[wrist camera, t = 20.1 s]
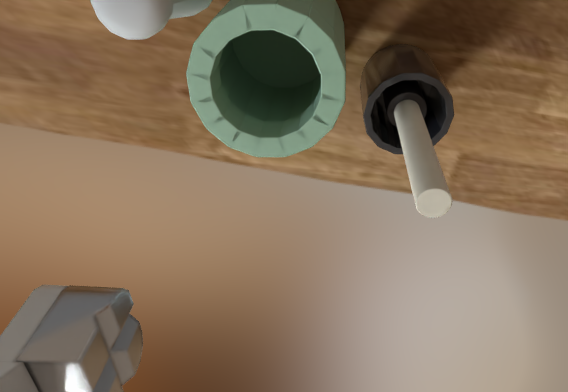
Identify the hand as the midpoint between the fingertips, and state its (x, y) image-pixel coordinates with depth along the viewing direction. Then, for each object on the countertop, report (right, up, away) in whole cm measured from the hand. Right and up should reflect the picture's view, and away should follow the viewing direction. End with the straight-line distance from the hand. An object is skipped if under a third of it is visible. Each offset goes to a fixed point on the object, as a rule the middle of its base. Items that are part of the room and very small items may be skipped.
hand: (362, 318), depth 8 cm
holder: (+8, +11, +31) cm, 34 cm away
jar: (-1, +15, +30) cm, 34 cm away
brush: (+8, +11, +31) cm, 34 cm away
